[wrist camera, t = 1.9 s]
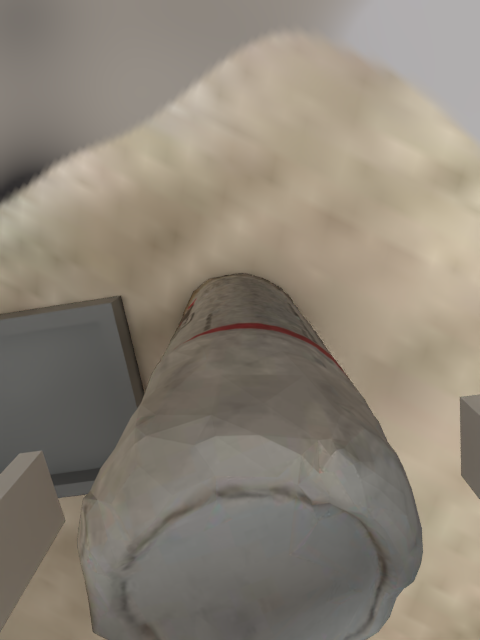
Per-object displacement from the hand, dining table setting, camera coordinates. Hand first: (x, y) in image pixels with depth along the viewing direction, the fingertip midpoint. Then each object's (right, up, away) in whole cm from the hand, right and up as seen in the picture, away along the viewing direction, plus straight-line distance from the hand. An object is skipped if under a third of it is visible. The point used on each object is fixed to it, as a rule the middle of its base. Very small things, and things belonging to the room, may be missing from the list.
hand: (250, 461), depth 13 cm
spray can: (0, +4, +14) cm, 15 cm away
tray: (-13, -1, +16) cm, 21 cm away
